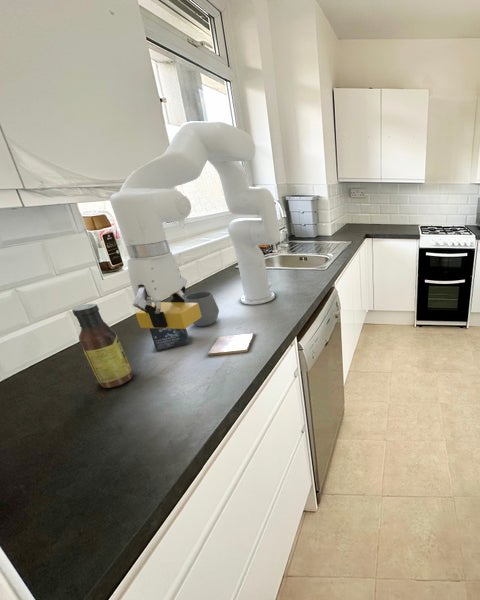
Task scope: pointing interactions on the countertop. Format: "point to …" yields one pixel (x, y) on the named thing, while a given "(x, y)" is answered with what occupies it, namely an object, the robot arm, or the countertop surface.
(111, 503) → the countertop surface
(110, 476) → the countertop surface
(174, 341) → the box
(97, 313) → the sauce bottle
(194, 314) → the block
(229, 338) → the plate
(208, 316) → the cup
